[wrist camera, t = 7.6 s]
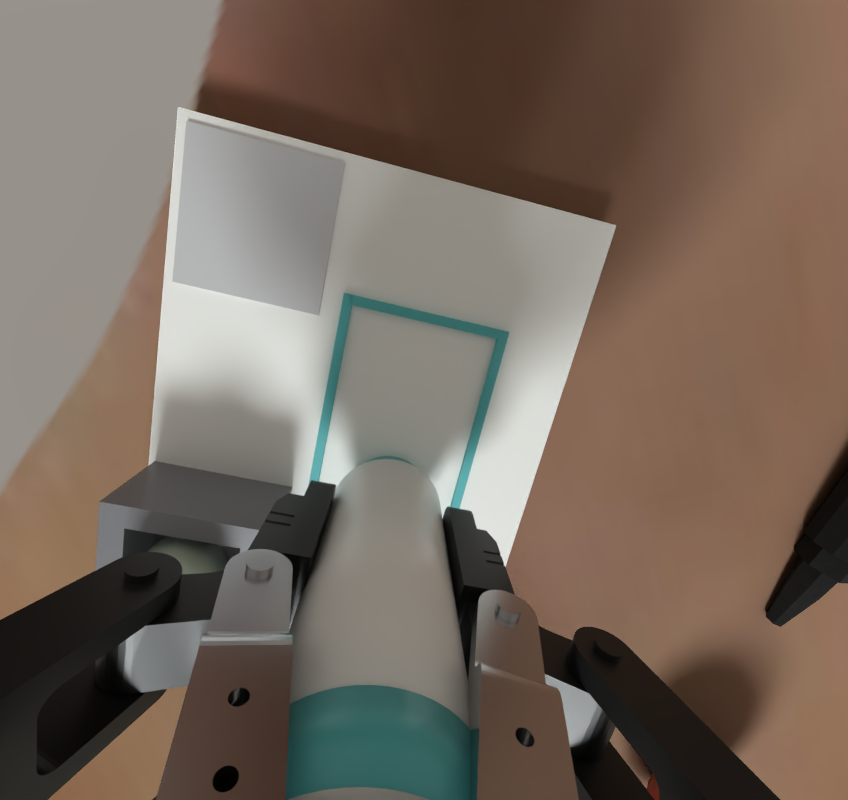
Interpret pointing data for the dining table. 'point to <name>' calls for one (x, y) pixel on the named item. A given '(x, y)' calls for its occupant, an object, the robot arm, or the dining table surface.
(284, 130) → the dining table surface
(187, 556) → the button
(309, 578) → the marker
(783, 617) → the microphone
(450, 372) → the white flat rectangular panel
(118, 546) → the button housing
